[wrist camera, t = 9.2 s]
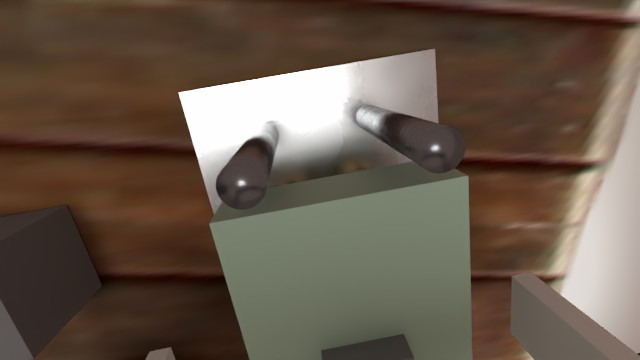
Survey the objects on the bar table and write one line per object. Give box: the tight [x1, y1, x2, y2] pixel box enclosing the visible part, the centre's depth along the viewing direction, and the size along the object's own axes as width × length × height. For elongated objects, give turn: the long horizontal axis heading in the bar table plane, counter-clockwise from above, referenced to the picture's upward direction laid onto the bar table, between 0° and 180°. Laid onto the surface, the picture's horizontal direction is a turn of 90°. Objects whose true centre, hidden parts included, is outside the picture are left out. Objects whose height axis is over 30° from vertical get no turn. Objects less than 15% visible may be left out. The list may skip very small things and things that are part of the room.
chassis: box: [179, 49, 465, 215], centre depth 14 cm, size 12×20×9 cm, turn 9°
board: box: [209, 161, 472, 360], centre depth 12 cm, size 8×12×4 cm, turn 9°
